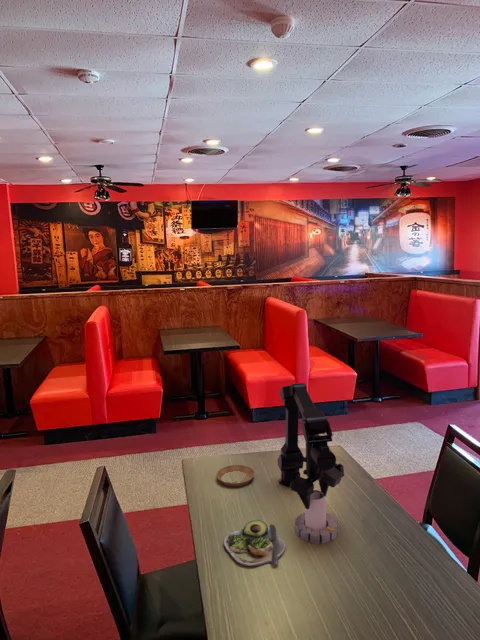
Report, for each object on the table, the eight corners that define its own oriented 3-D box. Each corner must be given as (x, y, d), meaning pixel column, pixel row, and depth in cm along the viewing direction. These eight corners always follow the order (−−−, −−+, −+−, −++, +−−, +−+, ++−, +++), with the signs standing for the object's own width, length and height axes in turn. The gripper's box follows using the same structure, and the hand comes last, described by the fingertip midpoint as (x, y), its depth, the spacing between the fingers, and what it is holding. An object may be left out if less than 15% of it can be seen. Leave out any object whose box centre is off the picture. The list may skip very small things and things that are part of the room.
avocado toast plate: (301, 560, 133) (301, 545, 132) (245, 580, 125) (244, 565, 125) (269, 524, 150) (268, 511, 149) (218, 541, 143) (217, 527, 142)
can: (325, 524, 149) (324, 489, 147) (326, 536, 142) (326, 500, 140) (304, 523, 149) (304, 489, 148) (305, 536, 143) (304, 499, 141)
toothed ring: (287, 532, 145) (286, 523, 145) (310, 513, 155) (310, 506, 154) (322, 549, 137) (322, 540, 136) (345, 528, 146) (345, 520, 146)
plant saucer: (208, 481, 179) (208, 475, 179) (234, 467, 190) (233, 461, 190) (237, 493, 169) (237, 487, 169) (262, 477, 180) (262, 471, 180)
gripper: (320, 474, 130) (321, 526, 132) (354, 451, 143) (354, 498, 145) (288, 463, 137) (289, 512, 139) (323, 442, 151) (323, 487, 153)
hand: (315, 502), depth 144 cm, fingers open, 9 cm apart
